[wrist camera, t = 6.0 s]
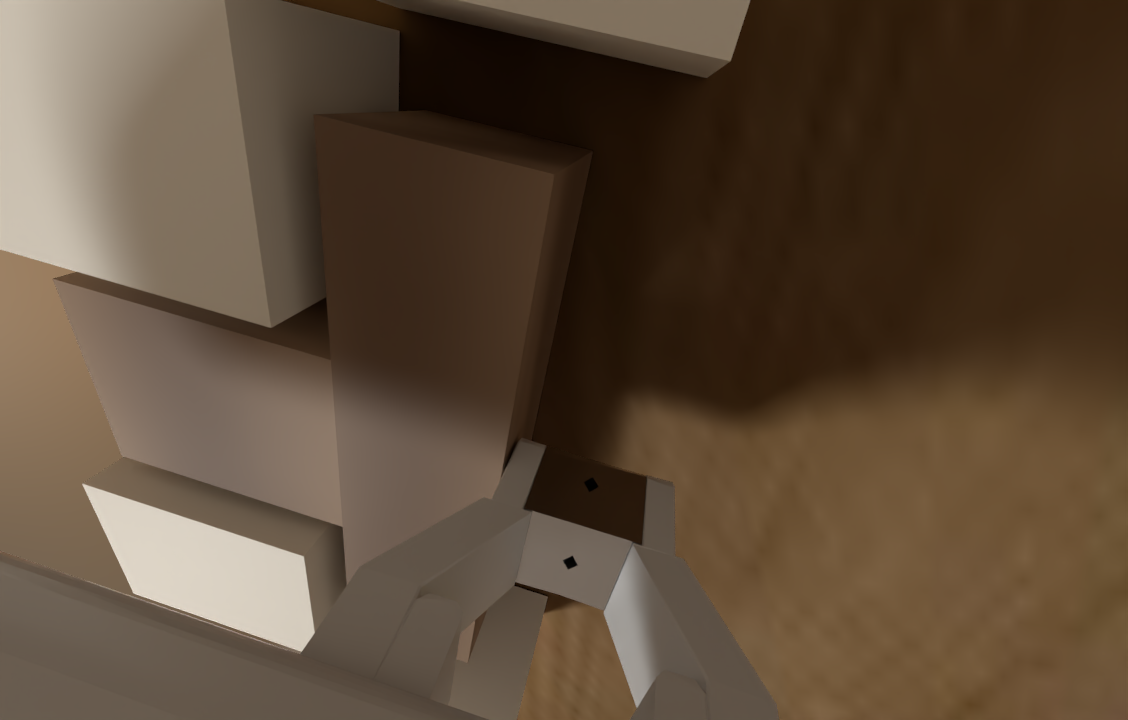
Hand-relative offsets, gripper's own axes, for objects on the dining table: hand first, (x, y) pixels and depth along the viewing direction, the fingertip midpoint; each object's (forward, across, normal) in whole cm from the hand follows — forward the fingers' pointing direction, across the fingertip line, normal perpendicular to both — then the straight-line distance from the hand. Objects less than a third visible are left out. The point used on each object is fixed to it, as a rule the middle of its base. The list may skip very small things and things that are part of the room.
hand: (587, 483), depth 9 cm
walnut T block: (+2, +6, 0) cm, 6 cm away
